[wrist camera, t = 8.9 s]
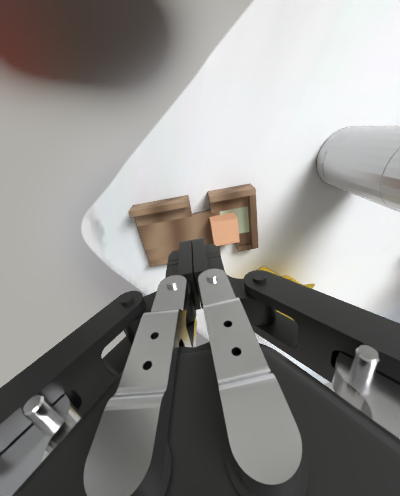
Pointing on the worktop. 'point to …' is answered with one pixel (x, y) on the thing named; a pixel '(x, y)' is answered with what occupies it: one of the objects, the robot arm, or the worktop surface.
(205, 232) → the box
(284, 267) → the worktop surface
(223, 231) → the block
